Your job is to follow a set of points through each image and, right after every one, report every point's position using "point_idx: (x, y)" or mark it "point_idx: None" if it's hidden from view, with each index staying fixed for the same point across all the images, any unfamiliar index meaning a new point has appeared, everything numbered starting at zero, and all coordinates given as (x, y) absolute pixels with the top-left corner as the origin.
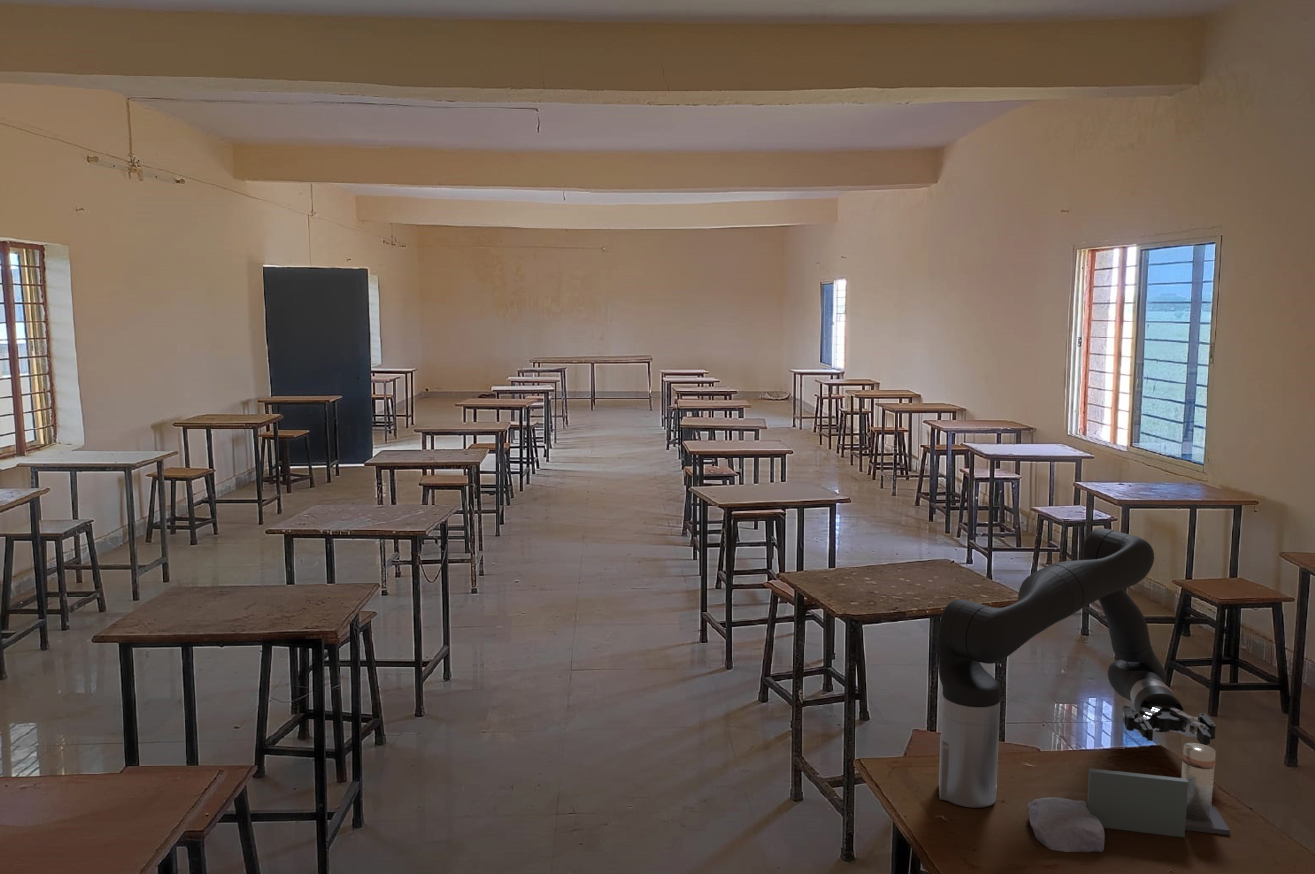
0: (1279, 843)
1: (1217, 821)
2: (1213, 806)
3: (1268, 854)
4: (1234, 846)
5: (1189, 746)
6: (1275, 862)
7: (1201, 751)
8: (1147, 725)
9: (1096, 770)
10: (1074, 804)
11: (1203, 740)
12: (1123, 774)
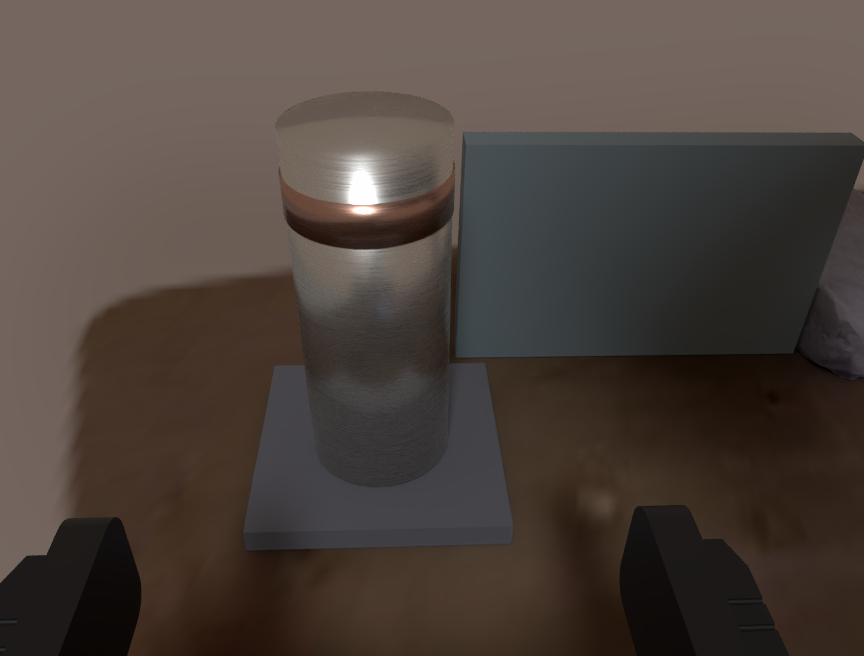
0: (106, 373)
1: (296, 411)
2: (250, 531)
3: (198, 314)
4: (294, 330)
5: (420, 126)
6: (203, 287)
7: (367, 106)
8: (710, 588)
9: (832, 141)
10: (854, 277)
11: (126, 551)
12: (720, 135)
